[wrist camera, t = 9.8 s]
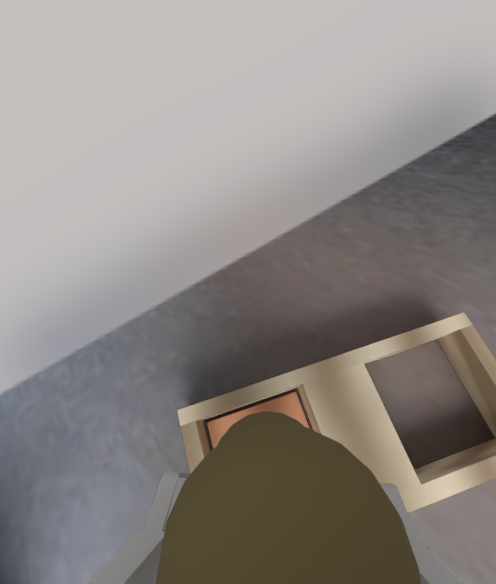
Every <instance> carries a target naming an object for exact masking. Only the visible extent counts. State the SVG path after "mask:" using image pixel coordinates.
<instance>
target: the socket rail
mask: <svg viewBox="0 0 496 584" xmlns="http://www.w3.org/2000/svg"><path fill="white" fill-rule="evenodd" d="M436 339H437V341H438V342H439V344H440V346H441V347H442V349H443V351H444V352H445V354H446V356H447V358H448V359H449V361H450V363H451V364H452V366H453V368H454V369H455V371H456V373H457V374H458V376H459V378H460V380H461V381H462V383H463V385H464V386H465V388H466V390H467V391H468V393H469V395H470V396H471V398H472V400H473V402H474V403H475V405H476V407H477V408H478V410H479V412H480V413H481V415H482V417H483V418H484V420H485V422H486V424H487V425H488V427H489V429H490V430H491V432H492V434H493V435H494V437H495V438H494V439H492V440H489V441H487V442H484V443H481V444H479V445H476V446H474V447H471V448H468V449H466V450H463V451H461V452H458V453H456V454H453V455H450V456H448V457H445V458H443V459H440V460H437V461H435V462H432V463H430V464H427V465H424V466H422V467H419V468H417V469H414V468H413V466H412V464H411V462H410V460H409V458H408V456H407V453H406V451H405V449H404V447H403V445H402V443H401V441H400V439H399V437H398V434H397V432H396V430H395V428H394V426H393V424H392V422H391V420H390V418H389V415H388V413H387V411H386V409H385V407H384V405H383V403H382V401H381V399H380V396H379V394H378V392H377V390H376V388H375V386H374V384H373V382H372V380H371V377H370V375H369V373H368V371H367V369H366V367H365V365H364V364H367V363H370V362H373V361H376V360H379V359H382V358H384V357H387V356H390V355H393V354H396V353H399V352H402V351H405V350H407V349H410V348H413V347H416V346H419V345H422V344H425V343H428V342H431V341H433V340H436ZM295 388H298V391H299V394H300V396H301V399H302V402H303V404H304V407H305V410H306V412H307V415H308V418H309V421H310V423H311V426H312V429H313V431H316V432H318V433H320V434H322V435H324V436H326V437H328V438H330V439H333V440H335V441H337V442H339V443H341V444H342V445H343V446H344V447H345V448H347V449H348V450H349V451H350V452H351V453H352V454H353V455H354V456H355V457H357V458H358V459H359V460H360V461H361V462H362V463H363V464H364V465H365V466H367V467H368V468H369V469H370V470H371V471H372V473H373V474H374V476H375V477H376V479H377V480H378V482H379V483H392V484H394V485H395V486H396V487H397V488H398V491H399V493H400V495H401V498H402V500H403V502H404V505H405V507H406V509H407V512H408V513H409V512H412V511H414V510H417V509H419V508H422V507H424V506H427V505H429V504H432V503H434V502H437V501H439V500H442V499H444V498H447V497H449V496H452V495H454V494H457V493H459V492H462V491H464V490H467V489H469V488H472V487H474V486H477V485H479V484H482V483H484V482H487V481H489V480H492V479H494V478H496V360H495V358H494V357H493V355H492V354H491V352H490V351H489V349H488V348H487V346H486V345H485V343H484V342H483V340H482V339H481V337H480V336H479V334H478V332H477V331H476V329H475V328H474V326H473V325H472V323H471V322H470V320H469V319H468V317H467V316H466V314H465V313H461V314H458V315H455V316H452V317H449V318H446V319H443V320H440V321H437V322H434V323H432V324H429V325H426V326H423V327H420V328H417V329H414V330H411V331H408V332H405V333H402V334H399V335H396V336H393V337H390V338H388V339H385V340H382V341H379V342H376V343H373V344H370V345H367V346H364V347H361V348H358V349H355V350H352V351H349V352H346V353H344V354H341V355H338V356H335V357H332V358H329V359H326V360H323V361H320V362H317V363H314V364H311V365H308V366H305V367H302V368H300V369H297V370H294V371H291V372H288V373H285V374H282V375H279V376H276V377H273V378H270V379H267V380H264V381H261V382H258V383H256V384H253V385H250V386H247V387H244V388H241V389H238V390H235V391H232V392H229V393H226V394H223V395H220V396H217V397H214V398H212V399H209V400H206V401H203V402H200V403H197V404H194V405H191V406H188V407H185V408H182V409H179V410H177V412H178V416H179V421H180V426H181V431H182V436H183V440H184V445H185V450H186V455H187V459H188V464H189V469H190V473H192V472H193V470H194V469H195V468H196V467H197V466H198V464H199V463H200V462H201V461H202V460H203V459H204V457H205V456H206V455H207V454H208V453H209V451H211V450H210V445H209V441H208V437H207V433H206V429H205V425H204V420H206V419H208V418H211V417H214V416H217V415H220V414H223V413H226V412H229V411H232V410H234V409H237V408H240V407H243V406H246V405H249V404H252V403H255V402H257V401H260V400H263V399H266V398H269V397H272V396H275V395H278V394H281V393H283V392H286V391H289V390H292V389H295ZM263 411H268V412H277V413H283V414H285V415H287V416H289V417H291V418H294V419H296V420H298V421H299V422H300V423H301V424H303V425H304V426H305V427H306V428H309V426H308V423H307V421H306V418H305V415H304V412H303V410H302V407H301V404H300V402H299V399H298V396H297V393H296V392H294V393H291V394H288V395H285V396H282V397H279V398H276V399H273V400H271V401H268V402H265V403H262V404H259V405H256V406H253V407H250V408H248V409H245V410H242V411H239V412H236V413H233V414H230V415H227V416H225V417H222V418H219V419H216V420H213V421H210V422H207V425H208V429H209V434H210V438H211V442H212V446H213V449H214V448H215V447H217V445H218V443H219V441H220V439H221V438H222V436H223V435H224V434H225V433H226V432H227V430H228V429H229V428H230V427H231V426H232V425H233V424H234V423H236V422H237V421H239V420H240V419H242V418H244V417H245V416H247V415H250V414H254V413H259V412H263Z"/></svg>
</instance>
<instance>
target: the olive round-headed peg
mask: <svg viewBox="0 0 496 584" xmlns="http://www.w3.org/2000/svg"><path fill="white" fill-rule="evenodd" d="M156 584H420V574H419V568H418V565H417V562H416V559H415V556H414V553H413V550H412V547H411V544H410V542H409V539H408V536H407V533H406V530H405V527H404V524H403V521H402V519H401V517H400V515H399V513H398V512H397V510H396V508H395V507H394V505H393V504H392V502H391V500H390V499H389V497H388V496H387V494H386V493H385V491H384V490H383V488H382V487H381V485H380V483H379V482H378V480H377V479H376V477H375V476H374V474H373V473H372V471H371V470H370V469H369V468H368V467H367V466H365V465H364V464H363V463H362V462H361V461H360V460H359V459H358V458H357V457H355V456H354V455H353V454H352V453H351V452H350V451H349V450H348V449H347V448H345V447H344V446H343V445H342V444H341V443H339V442H337V441H335V440H333V439H330V438H328V437H326V436H324V435H322V434H320V433H318V432H316V431H313V430H311V429H309V428H306V427H305V426H304V425H303V424H301V423H300V422H299V421H298V420H296V419H294V418H291V417H289V416H287V415H285V414H283V413H277V412H268V411H263V412H259V413H254V414H250V415H247V416H245V417H244V418H242V419H240V420H239V421H237V422H236V423H234V424H233V425H232V426H231V427H230V428H229V429H228V430H227V432H226V433H225V434H224V435H223V436H222V438H221V439H220V441H219V443H218V445H217V447H215V448H214V449H212V450H211V451H209V453H208V454H207V455H206V456H205V457H204V459H203V460H202V461H201V462H200V463H199V464H198V466H197V467H196V468H195V469H194V470H193V472H192V473H191V474H190V475H189V476H188V478H187V479H186V480H185V481H184V483H183V486H182V488H181V490H180V492H179V494H178V497H177V499H176V501H175V503H174V506H173V508H172V510H171V512H170V515H169V517H168V519H167V521H166V526H165V532H164V538H163V544H162V550H161V555H160V561H159V567H158V573H157V579H156Z"/></svg>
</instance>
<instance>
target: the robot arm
mask: <svg viewBox="0 0 496 584" xmlns="http://www.w3.org/2000/svg"><path fill="white" fill-rule="evenodd" d="M190 474H191V473H179V472H165V473H164V474H163V476H162V478H161V481H160V483H159V486H158V489H157V492H156V495H155V498H154V501H153V504H152V507H151V510H150V513H149V516H148V519H147V522H146V525H145V528H144V530H138V531H137V532H136V533H135V534H134V535H133V536H132V537H131V538H130V539H129V540H128V542H127V543H126V544H125V545H124V546H123V547H122V548H121V549H120V550H119V551H118V552H117V553H116V554H115V555H114V556H113V557H112V559H111V560H110V561H109V562H108V563H107V564H106V565H105V566H104V567H103V568H102V569H101V570H100V571H99V572H98V573H97V574H96V576H95V577H94V578H93V579H92V580H91V581H90V582H89V583H88V584H156V579H157V573H158V567H159V561H160V555H161V550H162V544H163V538H164V532H165V526H166V521H167V519H168V517H169V515H170V512H171V510H172V508H173V506H174V503H175V501H176V499H177V497H178V494H179V492H180V490H181V488H182V486H183V483H184V481H185V480H186V479H187V478H188V476H189V475H190ZM380 485H381V487H382V488H383V490H384V491H385V493H386V494H387V496H388V497H389V499H390V500H391V502H392V504H393V505H394V507H395V508H396V510H397V512H398V513H399V515H400V517H401V519H402V521H403V524H404V527H405V530H406V533H407V536H408V539H409V542H410V544H411V547H412V550H413V553H414V556H415V559H416V562H417V565H418V568H419V574H420V584H463V583H462V582H461V581H460V580H459V578H458V577H457V576H456V575H455V574H454V573H453V572H452V571H451V570H450V569H449V568H448V567H447V566H446V565H445V564H444V563H443V562H442V561H441V560H440V559H439V558H438V557H437V556H436V555H435V554H434V553H433V552H432V551H431V550H430V549H429V548H428V547H423V546H422V544H421V542H420V539H419V537H418V535H417V532H416V530H415V528H414V525H413V523H412V521H411V518H410V516H409V514H408V512H407V509H406V507H405V505H404V502H403V500H402V498H401V495H400V493H399V491H398V488H397V487H396V486H395V485H394V484H392V483H380Z"/></svg>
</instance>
